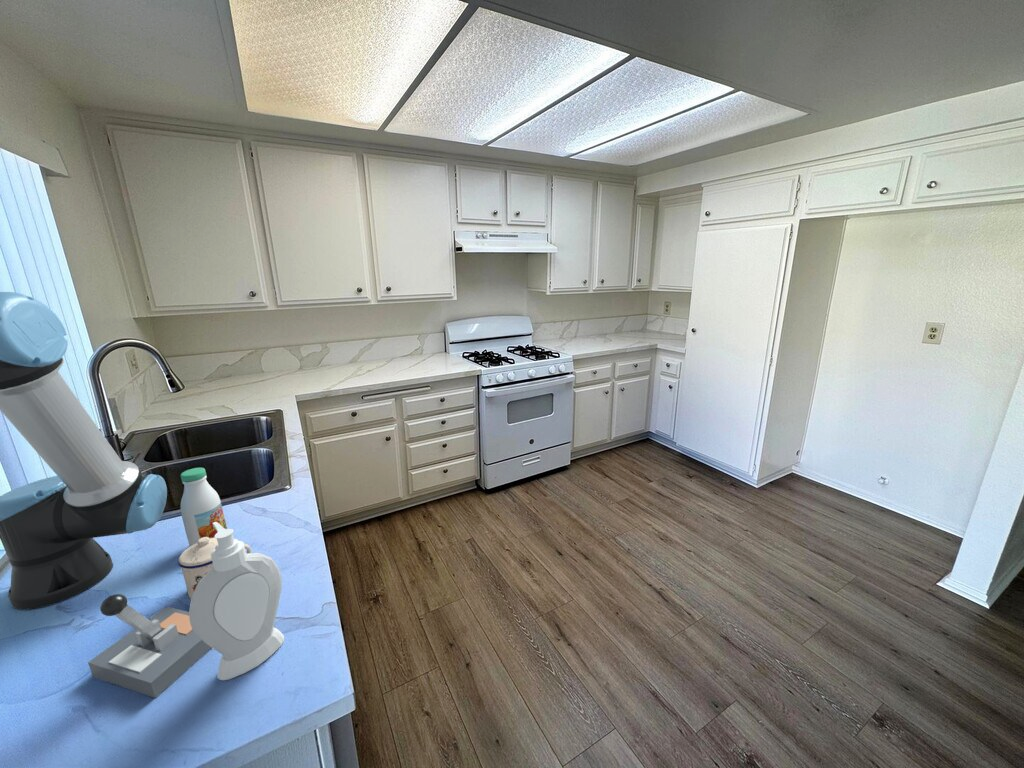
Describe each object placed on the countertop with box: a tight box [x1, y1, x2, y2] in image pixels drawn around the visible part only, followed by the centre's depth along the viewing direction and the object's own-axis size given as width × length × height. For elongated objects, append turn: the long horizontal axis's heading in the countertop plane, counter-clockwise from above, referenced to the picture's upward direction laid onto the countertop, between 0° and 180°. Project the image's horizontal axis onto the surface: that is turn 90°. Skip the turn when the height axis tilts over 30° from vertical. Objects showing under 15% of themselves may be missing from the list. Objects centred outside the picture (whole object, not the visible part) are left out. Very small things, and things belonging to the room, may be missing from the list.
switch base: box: [87, 606, 213, 699], centre depth 70 cm, size 12×14×5 cm
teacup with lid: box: [177, 537, 252, 600], centre depth 85 cm, size 12×9×12 cm
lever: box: [100, 593, 163, 642], centre depth 66 cm, size 3×3×13 cm
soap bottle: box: [188, 522, 285, 681], centre depth 67 cm, size 13×8×24 cm, turn 140°
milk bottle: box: [180, 467, 228, 548], centre depth 97 cm, size 8×8×20 cm
